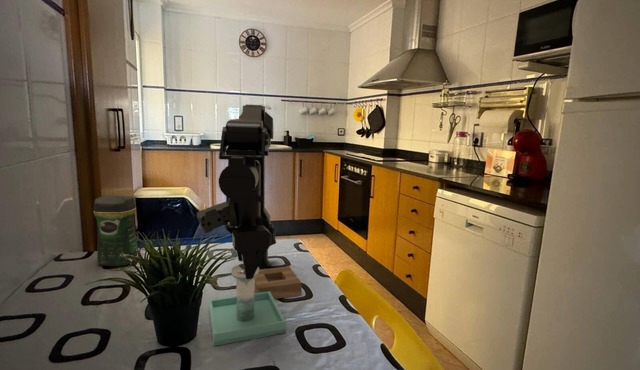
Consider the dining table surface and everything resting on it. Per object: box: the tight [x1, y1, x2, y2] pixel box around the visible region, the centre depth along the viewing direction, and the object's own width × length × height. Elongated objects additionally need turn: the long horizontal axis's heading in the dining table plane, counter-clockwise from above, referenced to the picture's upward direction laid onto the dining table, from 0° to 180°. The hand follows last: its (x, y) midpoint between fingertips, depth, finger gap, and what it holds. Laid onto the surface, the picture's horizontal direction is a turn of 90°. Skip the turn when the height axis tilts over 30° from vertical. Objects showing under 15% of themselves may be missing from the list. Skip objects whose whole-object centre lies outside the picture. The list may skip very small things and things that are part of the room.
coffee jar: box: [93, 195, 139, 267], centre depth 95 cm, size 10×8×19 cm
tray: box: [207, 291, 287, 347], centre depth 69 cm, size 13×13×2 cm
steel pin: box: [231, 263, 260, 322], centre depth 68 cm, size 5×5×10 cm
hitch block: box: [255, 266, 302, 300], centre depth 83 cm, size 10×10×3 cm
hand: (245, 269), depth 67 cm, fingers open, 9 cm apart
